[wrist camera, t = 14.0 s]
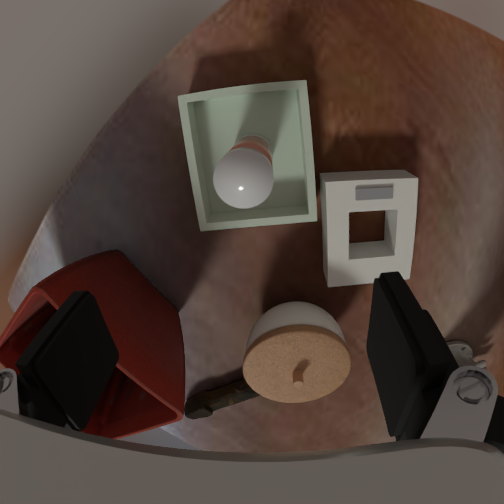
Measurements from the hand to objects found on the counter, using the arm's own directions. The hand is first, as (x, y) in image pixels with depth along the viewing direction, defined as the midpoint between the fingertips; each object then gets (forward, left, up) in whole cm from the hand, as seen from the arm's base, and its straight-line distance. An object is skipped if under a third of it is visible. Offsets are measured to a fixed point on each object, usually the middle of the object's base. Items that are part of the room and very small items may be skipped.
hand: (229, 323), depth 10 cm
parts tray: (+1, -1, -26) cm, 26 cm away
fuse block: (-11, +8, -26) cm, 30 cm away
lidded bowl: (-2, +22, -27) cm, 34 cm away
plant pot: (+22, +17, -27) cm, 38 cm away
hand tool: (+9, +35, -27) cm, 45 cm away
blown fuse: (+1, -1, -25) cm, 25 cm away
